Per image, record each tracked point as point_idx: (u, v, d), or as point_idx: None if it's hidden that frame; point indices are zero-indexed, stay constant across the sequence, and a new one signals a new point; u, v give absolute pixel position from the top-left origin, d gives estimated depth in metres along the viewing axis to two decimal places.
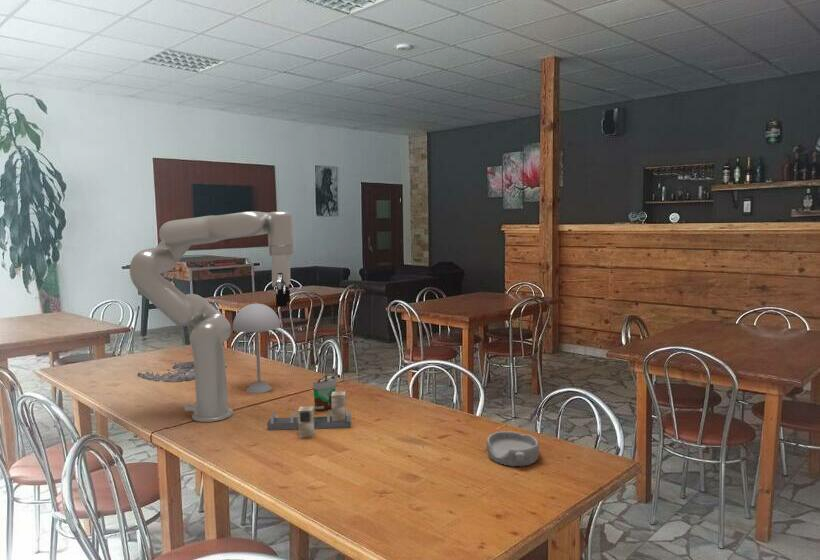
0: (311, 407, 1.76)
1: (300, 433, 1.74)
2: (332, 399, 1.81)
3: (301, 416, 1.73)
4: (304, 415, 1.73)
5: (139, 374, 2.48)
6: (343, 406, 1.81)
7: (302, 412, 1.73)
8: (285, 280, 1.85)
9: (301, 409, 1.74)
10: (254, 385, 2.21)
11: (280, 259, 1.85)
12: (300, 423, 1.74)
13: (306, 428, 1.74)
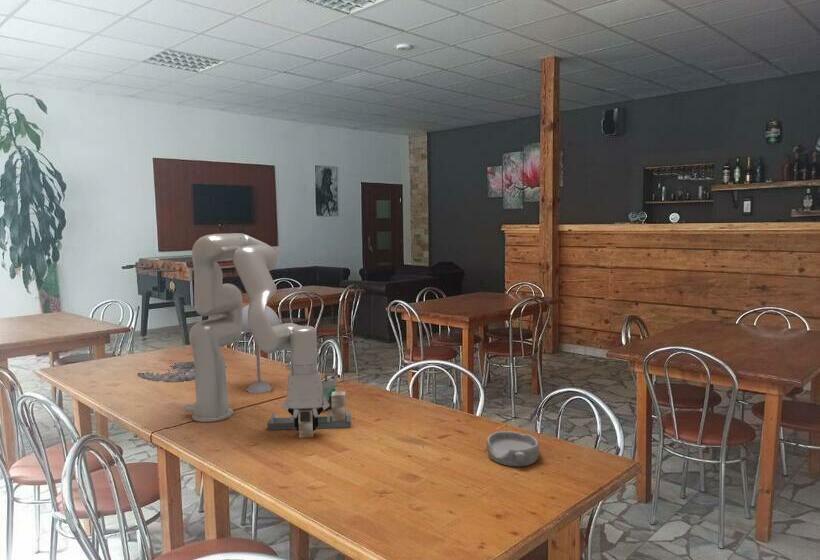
0: None
1: (300, 433, 1.74)
2: (332, 399, 1.81)
3: (301, 416, 1.73)
4: (304, 415, 1.73)
5: (139, 374, 2.48)
6: (343, 406, 1.81)
7: (302, 412, 1.73)
8: None
9: (301, 409, 1.74)
10: (254, 385, 2.21)
11: (320, 375, 1.75)
12: (300, 423, 1.74)
13: (306, 428, 1.74)
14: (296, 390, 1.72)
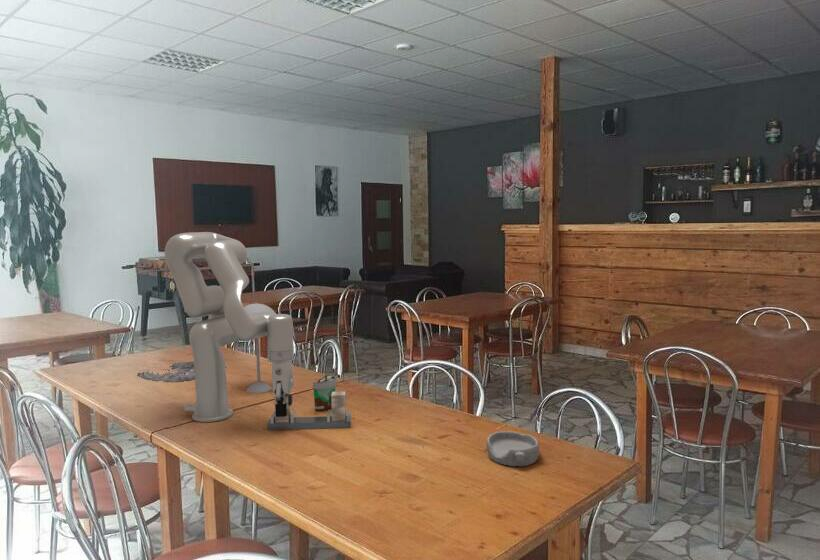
0: None
1: (288, 417, 1.81)
2: (332, 399, 1.81)
3: (291, 400, 1.82)
4: (291, 397, 1.82)
5: (139, 374, 2.48)
6: (343, 406, 1.81)
7: (290, 396, 1.82)
8: None
9: None
10: (254, 385, 2.21)
11: None
12: (288, 408, 1.81)
13: (289, 411, 1.83)
14: (289, 374, 1.79)
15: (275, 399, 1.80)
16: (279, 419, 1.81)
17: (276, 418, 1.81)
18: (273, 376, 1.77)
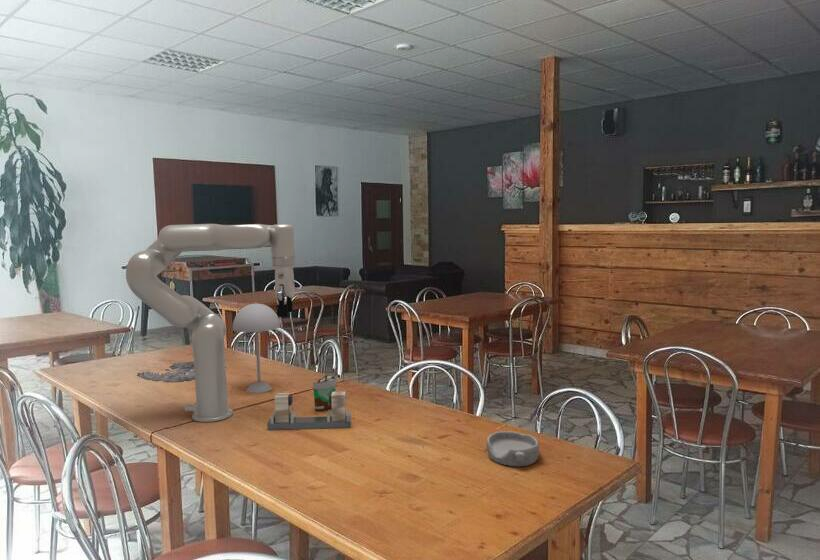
0: (280, 393, 1.84)
1: (288, 417, 1.81)
2: (332, 399, 1.81)
3: (291, 400, 1.82)
4: (291, 397, 1.82)
5: (139, 374, 2.48)
6: (343, 406, 1.81)
7: (290, 396, 1.82)
8: None
9: (284, 396, 1.81)
10: (254, 385, 2.21)
11: None
12: (288, 408, 1.81)
13: (289, 411, 1.83)
14: (291, 280, 1.92)
15: (275, 399, 1.80)
16: (279, 419, 1.81)
17: (276, 418, 1.81)
18: (276, 280, 1.90)
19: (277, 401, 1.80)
